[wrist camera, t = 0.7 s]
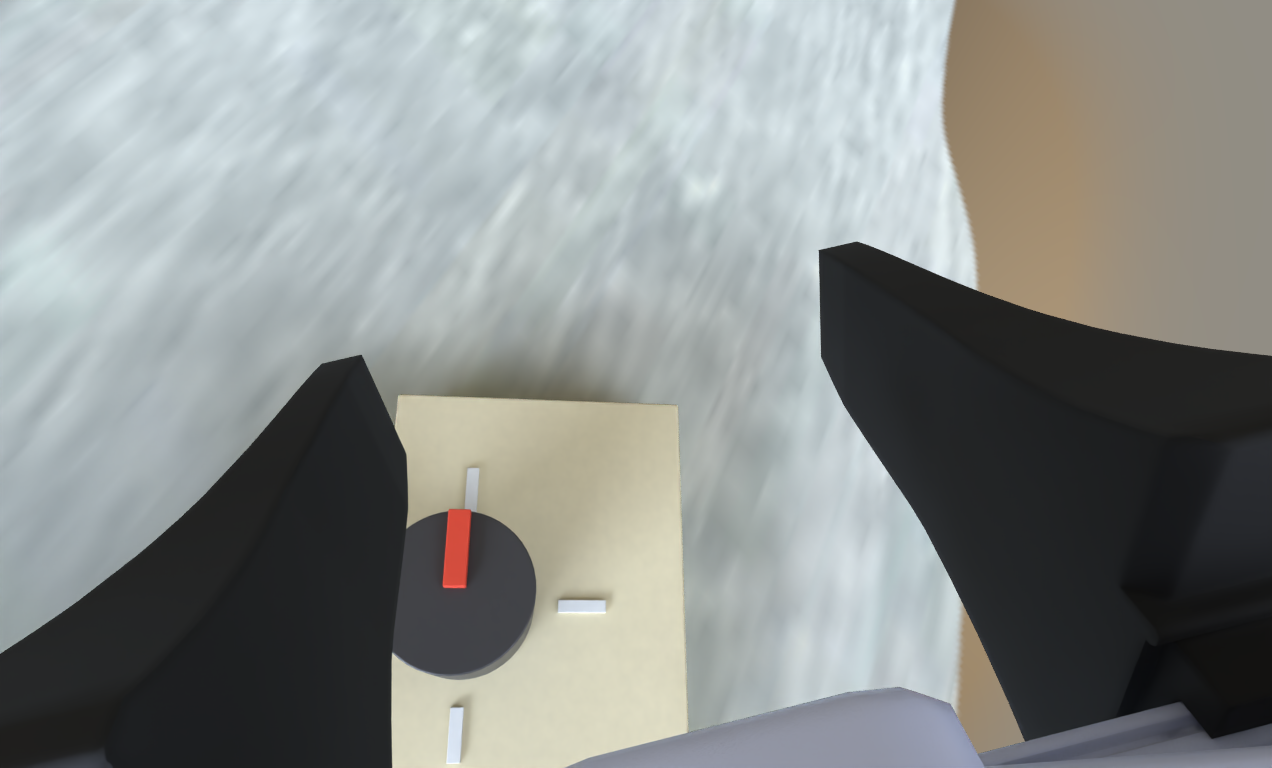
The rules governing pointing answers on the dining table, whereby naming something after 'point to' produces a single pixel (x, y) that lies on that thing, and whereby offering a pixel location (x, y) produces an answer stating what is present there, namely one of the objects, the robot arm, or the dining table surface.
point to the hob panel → (555, 579)
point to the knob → (462, 595)
